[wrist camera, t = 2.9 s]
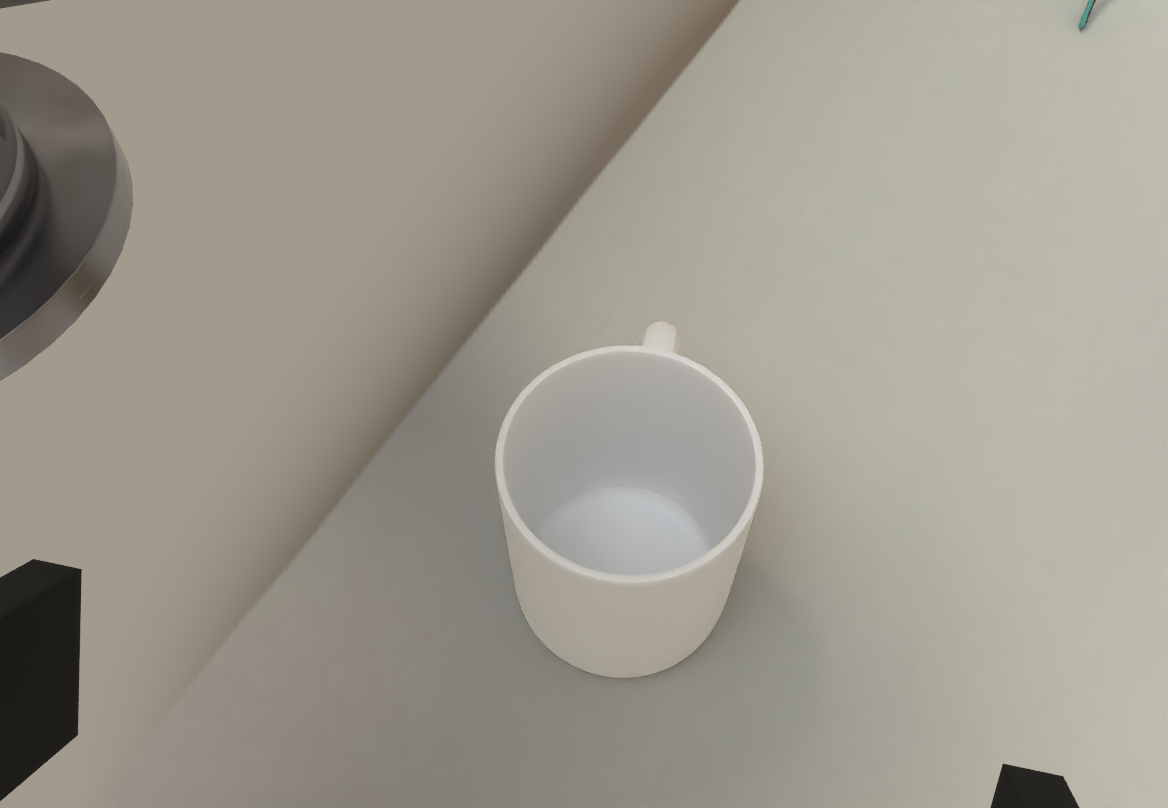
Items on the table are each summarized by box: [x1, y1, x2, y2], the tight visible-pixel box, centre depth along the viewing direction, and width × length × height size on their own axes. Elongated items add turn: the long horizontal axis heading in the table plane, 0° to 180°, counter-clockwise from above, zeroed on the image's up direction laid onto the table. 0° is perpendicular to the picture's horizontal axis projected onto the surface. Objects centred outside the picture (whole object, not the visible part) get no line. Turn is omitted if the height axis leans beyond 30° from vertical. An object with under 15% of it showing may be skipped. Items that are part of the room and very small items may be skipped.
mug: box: [494, 321, 764, 678], centre depth 37 cm, size 12×8×10 cm
